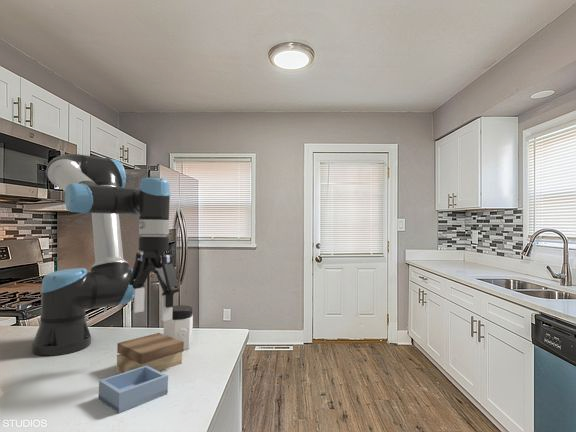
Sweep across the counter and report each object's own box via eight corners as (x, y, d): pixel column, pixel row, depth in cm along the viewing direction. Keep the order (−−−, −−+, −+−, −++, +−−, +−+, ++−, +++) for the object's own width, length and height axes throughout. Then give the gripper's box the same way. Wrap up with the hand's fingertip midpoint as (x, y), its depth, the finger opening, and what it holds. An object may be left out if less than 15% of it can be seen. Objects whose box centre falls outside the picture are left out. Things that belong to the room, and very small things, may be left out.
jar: (166, 353, 104) (167, 312, 104) (159, 345, 111) (160, 307, 111) (196, 348, 109) (197, 309, 109) (188, 340, 116) (189, 304, 116)
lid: (117, 352, 93) (117, 343, 93) (158, 341, 103) (158, 332, 103) (141, 364, 86) (141, 353, 86) (183, 351, 95) (183, 341, 95)
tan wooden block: (116, 371, 91) (117, 355, 91) (165, 356, 102) (165, 342, 102) (132, 380, 86) (133, 363, 86) (181, 363, 97) (182, 348, 97)
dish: (98, 399, 76) (99, 380, 77) (146, 382, 85) (146, 365, 85) (118, 413, 71) (119, 393, 71) (167, 393, 80) (168, 375, 80)
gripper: (117, 235, 100) (115, 311, 99) (168, 237, 84) (166, 327, 84) (142, 235, 106) (140, 306, 105) (194, 236, 90) (192, 320, 89)
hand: (152, 315), depth 94 cm, fingers open, 13 cm apart
